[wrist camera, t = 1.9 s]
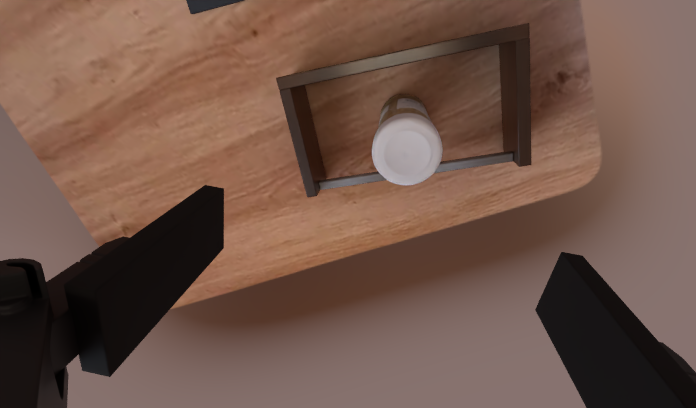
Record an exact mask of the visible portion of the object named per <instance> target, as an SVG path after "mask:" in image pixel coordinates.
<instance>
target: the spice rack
mask: <svg viewBox="0 0 696 408" xmlns="http://www.w3.org/2000/svg"><path fill="white" fill-rule="evenodd" d="M497 44H499V58H500V81H501V104H502V126H503V149H504V152H501V153H494V154H488V155H481V156H475V157H468V158H462V159H455V160H449V161H442V162H440V164H439V166H438V168H437V169H436V171H435V172H434V173H438V172H444V171H451V170H458V169H465V168H471V167H478V166H485V165H491V164H498V163H505V162H512V161H514V162H515V163H516V164H517V165H518V166H519V167H520V166H527V165H531V106H530V39H529V23H528V24H523V25H518V26H512V27H508V28H503V29H498V30H494V31H489V32H485V33H480V34H475V35H471V36H466V37H461V38H457V39H452V40H448V41H443V42H438V43H434V44H429V45H425V46H420V47H415V48H411V49H406V50H401V51H397V52H392V53H388V54H383V55H378V56H374V57H369V58H365V59H360V60H355V61H351V62H346V63H341V64H337V65H332V66H328V67H323V68H318V69H314V70H309V71H305V72H300V73H295V74H291V75H287V76H282V77H278V78H276V80H277V83H278V87H279V90H280V95H281V98H282V102H283V106H284V110H285V114H286V118H287V121H288V125H289V129H290V133H291V137H292V141H293V144H294V148H295V152H296V156H297V160H298V164H299V167H300V171H301V175H302V179H303V183H304V187H305V190H306V194H307V197H313V196H317V195H318V193H319V191H320V189H321V190H323V189H330V188H337V187H343V186H350V185H357V184H364V183H370V182H377V181H384V180H387V179H385V178H384V177H383V176H382V175H381V174H380V173H379V172H378V171H377V172H371V173H364V174H358V175H351V176H345V177H338V178H332V179H326V175H325V171H324V167H323V162H322V158H321V154H320V150H319V145H318V141H317V137H316V132H315V128H314V124H313V120H312V115H311V111H310V107H309V103H308V98H307V94H306V90H305V86H304V85H306V84H311V83H316V82H320V81H325V80H330V79H335V78H340V77H344V76H349V75H354V74H359V73H363V72H368V71H373V70H378V69H383V68H387V67H392V66H397V65H402V64H407V63H411V62H416V61H421V60H426V59H430V58H435V57H440V56H445V55H450V54H454V53H459V52H464V51H469V50H473V49H478V48H483V47H488V46H493V45H497Z"/></svg>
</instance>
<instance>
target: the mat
mask: <svg viewBox="0 0 696 408" xmlns="http://www.w3.org/2000/svg"><path fill="white" fill-rule="evenodd" d="M186 1H187V4H188V7H189V10H190V13H191V14H195V13H199V12H203V11H206V10H210V9H214V8H218V7H221V6H225V5H229V4H233V3H236V2H240V1H244V0H186Z"/></svg>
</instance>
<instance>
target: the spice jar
mask: <svg viewBox="0 0 696 408" xmlns="http://www.w3.org/2000/svg"><path fill="white" fill-rule="evenodd" d="M442 151H443V148H442V142H441V138H440V135H439V133H438V131H437V129H436V128H435V126H434V125H433V124H432V122H431V120H430V118H429V116H428V114H427V111H426V108H425V106H424V104H423V103H422V102H421V101H420V100H419V99H418V98H417V97H415V96H413V95H410V94H399V95H396V96H393V97H392V98H390V99H389V100H388V101H387V102H386V103H385V105H384V106H383V108H382V110H381V116H380V122H379V128H378V130H377V132H376V134H375V136H374V140H373V145H372V159H373V162H374V165H375V167H376V169H377V171H378V172H379V173H380V174H381V175H382V176H383V177H384V178H385V179H387V180H388V181H390V182H392V183H395V184H398V185H414V184H418V183H421V182H423V181H425V180H426V179H428V178H429V177H430V176H431V175H432V174H433V173H434V172H435V171H436V169H437V168H438V166H439V164H440V162H441V158H442Z"/></svg>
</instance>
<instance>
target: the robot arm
mask: <svg viewBox="0 0 696 408" xmlns="http://www.w3.org/2000/svg"><path fill="white" fill-rule="evenodd" d="M223 248H224V189H223V188H218V187H213V186H207V185H205V186H203V187H202V188H200V189H199V190H198V191H196V192H195V193H193V194H192V195H190V196H189V197H188V198H186V199H185V200H183V201H182V202H180V203H179V204H178V205H176V206H175V207H173V208H172V209H170V210H169V211H168V212H166V213H165V214H163V215H162V216H160V217H159V218H158V219H156V220H155V221H153V222H152V223H150V224H149V225H148V226H146V227H145V228H143V229H142V230H141V231H139V232H138V233H136V234H135V235H133V236H132V237H131V238H128V237H121V238H118V239H115V240H113V241H110V242H107V243H105V244H103V245H102V246H100V247H99V248H98V249H96V250H95V251H93V252H92V254H89V255H87V256H85V257H84V258H82V259H81V260H80V262H76V263H75V264H73V265H72V266H70V267H69V268H67V269H66V270H64V271H63V272H61V273H60V274H58V275H57V276H55V277H54V278H52V279H51V280H49V281H48V282H46V281H45V277H44V273H43V269H42V266H41V264H40V263H39V262H37V261H35V260H31V259H23V258H22V259H8V260H3V261H0V408H67V394H68V372H67V368H66V366H67V365H68V363H70V362H71V361H72V360H73V359H74V358H75V357H76V356H77V355H78V354H79V358H80V362H81V367H82V370H83V371H86V372H91V373H95V374H100V375H104V376H109V377H110V376H111V375H112V374H113V373H114V372H115V371H116V370H117V368H118V367H119V366H120V365H121V364H122V363H123V362H124V360H125V359H126V358H127V357H128V356H129V355H130V353H131V352H132V351H133V350H134V349H135V348H136V347H137V346H138V344H139V343H140V342H141V341H142V340H143V339H144V338H145V337H146V335H147V334H148V333H149V332H150V331H151V330H152V329H153V328H154V326H155V325H156V324H157V323H158V322H159V321H160V319H161V318H162V317H163V316H164V315H165V314H166V313H167V312H168V310H169V309H170V308H171V307H172V306H173V305H174V304H175V303H176V301H177V300H178V299H179V298H180V297H181V296H182V295H183V293H184V292H185V291H186V290H187V289H188V288H189V287H190V286H191V284H192V283H193V282H194V281H195V280H196V279H197V278H198V276H199V275H200V274H201V273H202V272H203V271H204V270H205V269H206V267H207V266H208V265H209V264H210V263H211V262H212V261H213V259H214V258H215V257H216V256H217V255H218V254H219V253H220V252H221V250H222V249H223ZM536 312H537V314H538V316H539V318H540V319H541V322H542V323H543V325H544V327H545V329H546V331H547V333H548V335H549V337H550V339H551V341H552V343H553V344H554V346H555V348H556V350H557V352H558V354H559V356H560V358H561V360H562V362H563V364H564V365H565V367H566V369H567V371H568V373H569V375H570V377H571V379H572V381H573V383H574V384H575V386H576V388H577V390H578V392H579V394H580V396H581V398H582V400H583V402H584V404H585V406H586V408H696V372H695V371H694V370H693V369H692V368H691V367H690V366H689V365H688V363H687V362H686V361H685V360H684V359H683V358H682V357H680V356H679V355H678V354H677V353H675V352H674V351H673V350H671V349H670V348H669V347H667V346H666V345H665V344H664V343H661V342H658V341H657V339H656V338H655V337H654V336H653V335H652V334H651V333H650V331H649V330H648V329H647V328H646V327H645V326H644V325H643V324H642V322H641V321H640V320H639V319H638V318H637V317H636V316H635V315H634V313H633V312H632V311H631V310H630V309H629V308H628V307H627V306H626V304H625V303H624V302H623V301H622V300H621V299H620V298H619V297H618V295H617V294H616V293H615V292H614V291H613V290H612V289H611V288H610V287H609V285H608V284H607V283H606V282H605V281H604V280H603V278H602V277H601V276H600V275H599V274H598V273H597V272H596V271H595V270H594V268H593V267H592V266H591V265H590V264H589V263H588V262H587V260H586V259H585V258H584V257H583V256H580V255H575V254H570V253H565V252H561V254H560V256H559V258H558V261H557V263H556V265H555V267H554V270H553V272H552V274H551V276H550V278H549V281H548V283H547V285H546V287H545V289H544V292H543V294H542V296H541V298H540V300H539V303H538V305H537V308H536Z"/></svg>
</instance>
